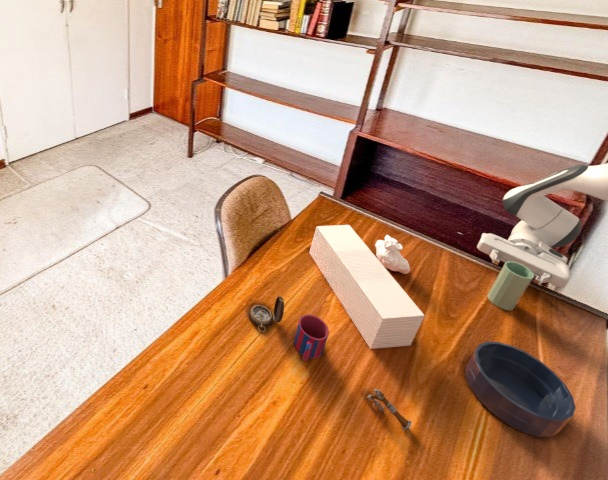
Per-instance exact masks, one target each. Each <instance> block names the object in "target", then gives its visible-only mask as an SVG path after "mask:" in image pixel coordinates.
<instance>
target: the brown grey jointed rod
mask: <svg viewBox="0 0 608 480" xmlns="http://www.w3.org/2000/svg"><path fill="white" fill-rule="evenodd" d="M373 392H375V393H373V394H372V393H371V394H368V395H366V398H365V399H366V400H367V401H373V404H374V407H376V408H377V409H378V411H381V412H382V413H383V412H384V411H385V409H384V407H385V408H386V409H387V410H388V411H389V412H390V413H391V415H393V416H394V417H395V419H396V420H397V421H398V422H399V424H400V425H401V430H402V431H406V430H410V428H411V426H412V423H413V421H411V419H409V420H408V419H407V418H406V417H404V416H403V415H401V413H400V412H399V411H398V410H397V408H396V407H395V406H394V405H393V404H392V403H391V401H389V400H388V399H387V398H386V397H385V394H384V392H382V391H381V390H380V389H377V388H374V389H373ZM381 402H382V403H383V404H384V405H383V404H381Z"/></svg>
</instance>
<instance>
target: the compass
mask: <svg viewBox="0 0 608 480" xmlns="http://www.w3.org/2000/svg"><path fill="white" fill-rule="evenodd" d="M284 310H285V301H284V298H283V297H282V296H280V295H278V296H277V297H276V299H275V302H274V308H273V313H272V310H270V308H268V307H267V306H264V305H261V304H254V305H252V306H251V307H250V308H249V311H248V317H249V319H250V321H251V322H252V323H253V324H254V325H256V326H258V327H257V329H258V331H259V332H261V333H264V332H265V331H266V328H267V327H270V326H271V325H272V324H273V323H274V322H275V323H278V324H279V323H281V321H282V320H283V317H284V312H285V311H284ZM260 328H262V329H263V328H264V330H260Z"/></svg>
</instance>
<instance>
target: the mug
mask: <svg viewBox="0 0 608 480" xmlns="http://www.w3.org/2000/svg"><path fill="white" fill-rule="evenodd" d="M329 335H330V330H329V327H328V324H327V323H326V322H325V321H324V320H323V319H321V318H320V317H318V316H316V315H313V314H304V315H302V316H301V317H299V320H298V323H297V326H296V330H295V333H294V337H293V346H294V348H295V349H296V351H298V352H299V354H300V355H301V356H302V360H303V361H305V362H308V361H309V359H312V360H316V359H318V358H321V356H322V355H323V352H324V350H325V346H326V343H327V340H328V337H329Z"/></svg>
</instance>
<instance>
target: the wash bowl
mask: <svg viewBox="0 0 608 480" xmlns="http://www.w3.org/2000/svg"><path fill="white" fill-rule="evenodd" d="M464 368H465V369H464V370H465V371H464V373H465V375H464V376H465V379H466V382H467V383H468V386H469V388H470V390H471V391H472V392H473V394H474V395H475V396H476V398H477V400H478V401H479V402H480V403H481V405H483V406H484V407H485V408H486V409H487V410H488V411H489V412H490V413H491V414H493V415H494V416H495V417H497V418H499V419H500V420H501V421H503V423H505V424H507V425H509V426H510V427H512V428H514V429H516V430H518V431H520V432H522V433H525V434H528V435H532V436H534V437H538V438H551V437H553V436H555V435H557V434H559V433H560V432H561V431H562V429H564V427H565V426H566V425H567V423H568V422H569V421H570V420H571V419H572V418H573V417H574V415H575V411H576V402H575V399H574V396H573V394H572V393H571V391H570V389H569V388H568V386H567V385H566V383H565V382H564V381H563V379H561V378H560V377H559V376H558V374H556V372H555V371H553V370H552V369H551V368H550V367H549V366H548V365H546V364H545V363H543V362H542V361H541V360H540V359H538V358H536V357H535V356H533V355H532V354H530V353H528V352H527V351H525V350H523V349H520V348H518V347H516V346H513V345H511V344H508V343H505V342H501V341H500V342H499V341H484V342H482V343H480V344H478V345H477V347H476V348H475V349H474V352H473V354H472V355H471V357H470V359H469V360H468V362H467V363H466V365H465V366H464Z"/></svg>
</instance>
